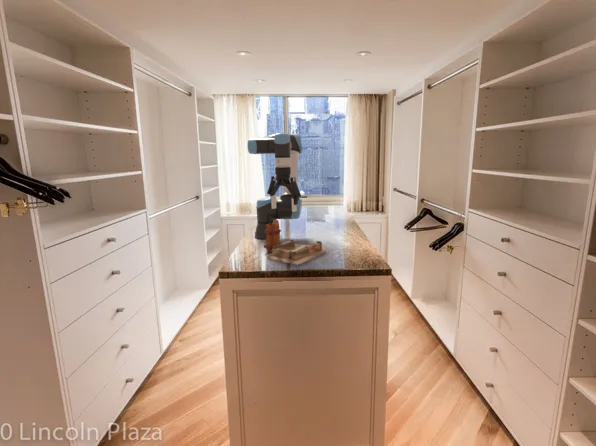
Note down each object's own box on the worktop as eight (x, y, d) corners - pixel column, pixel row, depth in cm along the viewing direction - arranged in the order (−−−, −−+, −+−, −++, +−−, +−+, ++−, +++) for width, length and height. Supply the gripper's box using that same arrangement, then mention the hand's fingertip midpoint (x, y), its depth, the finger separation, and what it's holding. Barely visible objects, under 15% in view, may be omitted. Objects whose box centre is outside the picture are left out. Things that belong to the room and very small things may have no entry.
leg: (318, 248, 163) (318, 240, 162) (323, 249, 161) (323, 241, 161) (304, 253, 155) (304, 245, 154) (309, 254, 153) (309, 246, 152)
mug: (278, 254, 158) (277, 224, 155) (262, 254, 160) (261, 224, 157) (285, 246, 172) (284, 219, 169) (270, 246, 174) (269, 218, 171)
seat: (267, 258, 154) (266, 247, 152) (296, 246, 172) (296, 236, 171) (297, 265, 143) (297, 253, 142) (325, 251, 162) (325, 241, 161)
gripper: (259, 166, 161) (261, 208, 166) (297, 167, 145) (298, 214, 150) (269, 165, 167) (271, 206, 171) (307, 166, 151) (308, 211, 156)
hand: (283, 209), depth 161 cm, fingers open, 13 cm apart
